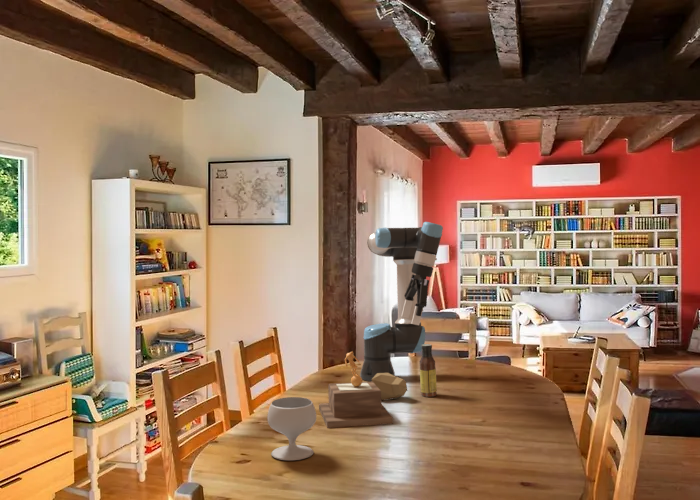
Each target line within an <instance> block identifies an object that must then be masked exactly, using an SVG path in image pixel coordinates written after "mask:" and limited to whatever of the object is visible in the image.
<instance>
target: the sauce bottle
mask: <svg viewBox="0 0 700 500" xmlns="http://www.w3.org/2000/svg"><path fill="white" fill-rule="evenodd" d="M421 348H422V351H421V358H420V359H419V380H420V381H419V383H420V384H419V385H420V395H421V396H423V397H424V398H425V397H426V398H432V397H433V398H434V397H435V396H437V390H438V388H437V369H436V361H435V359H434V357H433V354H432V349H433V345H432V343H425V344H423V345H421Z"/></svg>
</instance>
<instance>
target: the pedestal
mask: <svg viewBox="0 0 700 500" xmlns="http://www.w3.org/2000/svg"><path fill="white" fill-rule="evenodd" d="M327 387H328V402H325V403H324V402H321V403H318V410H319V412H320V414H321V416H322V417H321V418H322V419H323V421H324V424H325V426H326V428H327V429H328V428H343V427H345V428H348V427H359V426H360V427H361V426H375V425H377V426H378V425H390V424H392V425H393V424H394V421H393V420H394V418H393V416H392V415H391V413H390V412H389V411H388V410H387V408H386V407H385V406H384V405H383V404H382V399H381V390H380V389H379V388H378V387H377V386H376V385H375V384H374V383H373V381H362V384H361V385H360V386H358V387H355V386H353V385H352V384H351V382H340V383H339V382H336V383H328V386H327Z"/></svg>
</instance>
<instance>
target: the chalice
mask: <svg viewBox="0 0 700 500" xmlns="http://www.w3.org/2000/svg"><path fill="white" fill-rule="evenodd" d="M266 417H267V423H268V426H269V427H270V428H271V429H272V430H273V431H275V432H278V433H279V434H281V435H284V436H285V437H286V438H287V440H288V445H283V446H280V447H277V448H275V449H273V450H272V451H271V453H270V456H271V457H272V458H275V459H277V460H280V461H301V460H304V459H307V458H310V457H312V455H314V453H315V451H314V450H313V449H312V448H311V447H310V446H306V445H300V444H297V443H296V441H297V439H298V437H299V436H300V435H301V434H303V433H305V432H306V431H308V430H310V429H311V428H312V427H314V425H315V424H316V421H317V413H316V408H315V405H314V402H313V401H312V400H311V399H310V398H307V397H300V396H287V397H281V398H276V399H274V400H273V401H272V402H271V403H270V405H269V407H268V412H267V416H266Z"/></svg>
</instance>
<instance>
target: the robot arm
mask: <svg viewBox="0 0 700 500" xmlns="http://www.w3.org/2000/svg"><path fill="white" fill-rule="evenodd" d="M443 230H444V227H443V226H442V224H437V223H435V222H434V223H433V222H430V221H424V222H423V223H422V226H420V227H419V226H418V227H379V228H376V231H375V232H373V233H371V234H370V235H369V236H368V238H367V244H366V245H367V247H368V249H369V251H370V252H371V253H373V254H375V255H377V256H380V257H385V258H386V257H387V258H390V257H391V258H393V260H392V262H394V263H395V264H396V285H397V287H396V288H397V291H396V293H397V319H396V320H395V322H394V326H391V324H390V323H385V322H384V323H376V324H370V325H368V326H366V327H365V328H364V329H363V363H362V366H361V369H360V373H359V376H360V377H361V378H362V381H365V382H372V378H373V377H374V376H375V375H376V374H377V373H390V374H392V375H394V376H395V375H396V374H395V369H394V366H393V364H392V359H391V355H392V354H396V355H397V354H417V353H422V348H421V345H423V344H426V328H425V326H424V325H422V321H421V320H422V315H423V310H424V308H426V307H427V303H428V290H429V284H430V280H429V279H427V277H428V278H431V277H432V276H433V271H434V267H433V266H435V263H436V261H437V260H438V259H437V255H438V251H439V246H440V243H441V240H442V239H441V238H442V236H443Z"/></svg>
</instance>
